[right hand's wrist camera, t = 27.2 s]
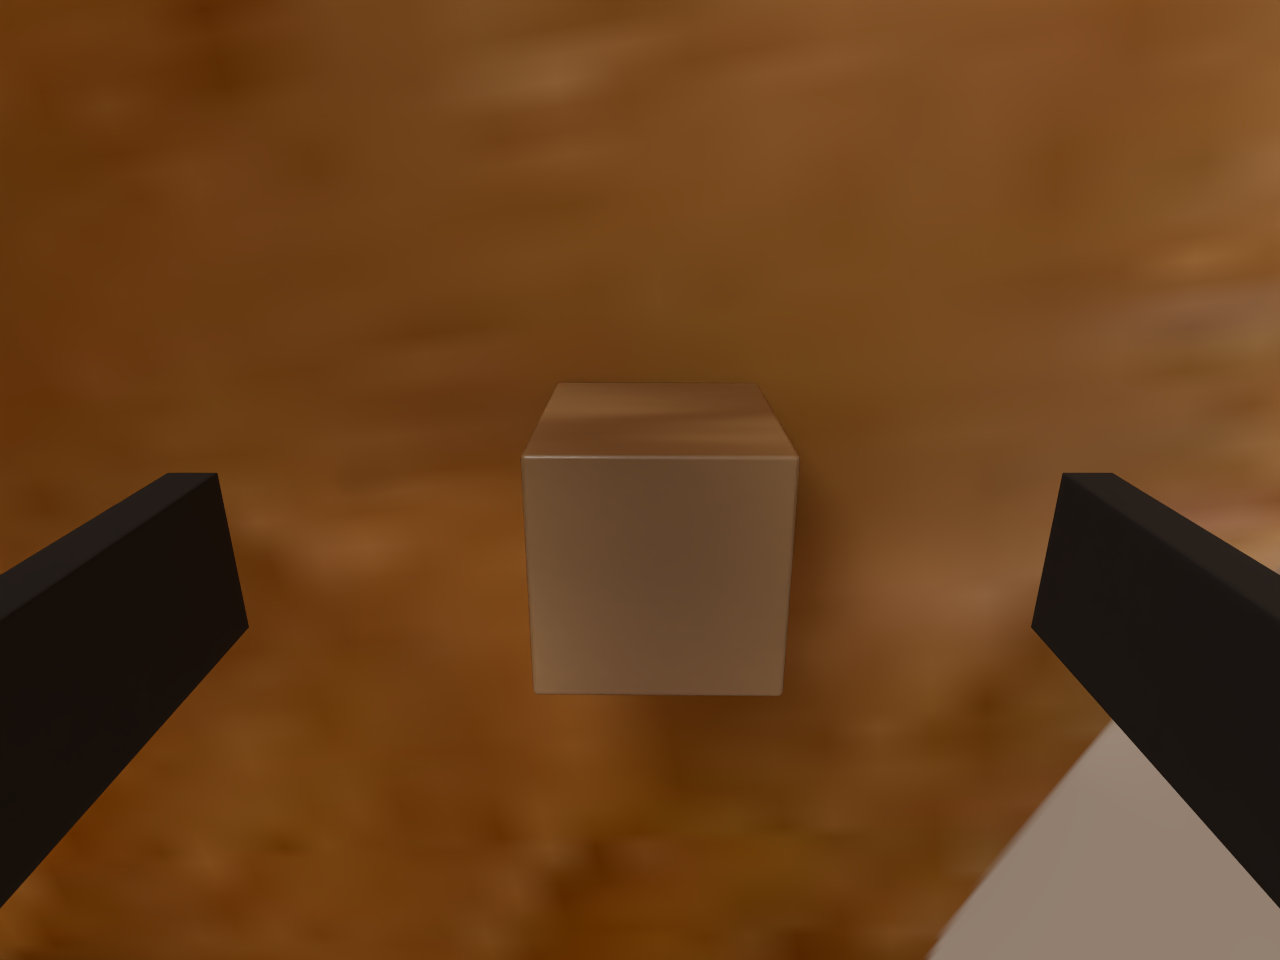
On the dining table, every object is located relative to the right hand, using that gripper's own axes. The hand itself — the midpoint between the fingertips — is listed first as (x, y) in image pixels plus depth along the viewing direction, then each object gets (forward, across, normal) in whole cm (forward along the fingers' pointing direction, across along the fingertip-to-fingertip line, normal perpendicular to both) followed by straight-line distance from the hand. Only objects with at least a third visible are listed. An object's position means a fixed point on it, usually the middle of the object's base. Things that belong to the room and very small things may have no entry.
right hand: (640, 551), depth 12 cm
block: (+4, 0, 0) cm, 4 cm away
